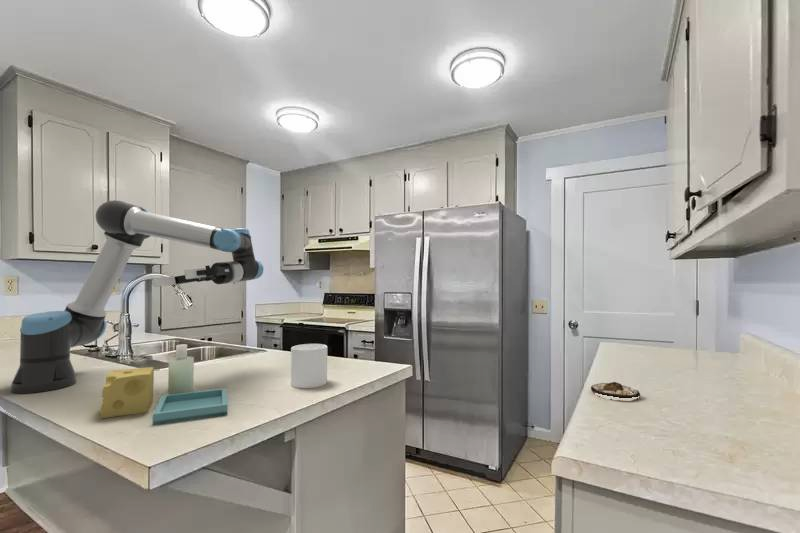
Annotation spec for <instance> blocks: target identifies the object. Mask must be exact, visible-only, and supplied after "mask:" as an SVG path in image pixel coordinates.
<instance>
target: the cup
mask: <svg viewBox="0 0 800 533" xmlns="http://www.w3.org/2000/svg"><path fill="white" fill-rule="evenodd" d="M290 351H291V352H290V386H292V387H294V388H297V389H298V388H299V389H314V388H319V387H323V386H325V385H326V384H327V383H328V345H326V344H324V343H323V344H322V343H304V344H297V345H294V346H291V348H290Z"/></svg>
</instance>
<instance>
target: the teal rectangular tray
mask: <svg viewBox="0 0 800 533" xmlns="http://www.w3.org/2000/svg"><path fill="white" fill-rule="evenodd" d="M227 392H228V391H227V387H224V388H223V387H222V388H217V389H214V388H213V389H206V390H198V391H197V390H196V391H193V392H187V393H179V394H170V395H168V394H163V395H161V397H160V399H159V402H158V403H157V405H156V407H155V409H154V411H153V413H152V426H155V425H163V424H171V423H179V422H184V421H191V420H190V419H192V420H198V418H200V419H205V418H206V419H207V418H212V417H213V418H214V417H219V416H220V417H221V416H228V393H227ZM170 422H171V423H170Z"/></svg>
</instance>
